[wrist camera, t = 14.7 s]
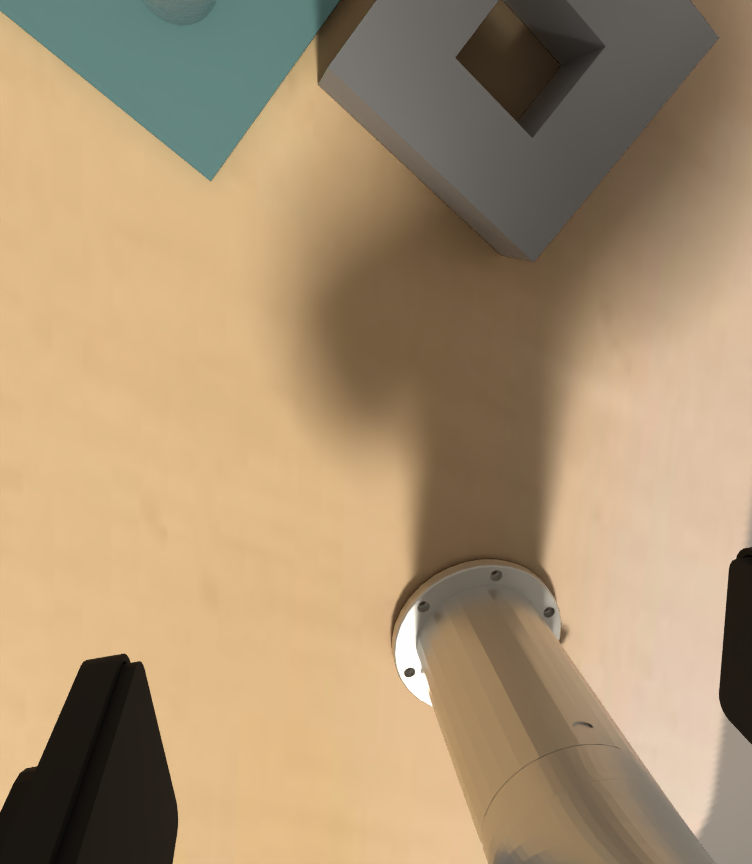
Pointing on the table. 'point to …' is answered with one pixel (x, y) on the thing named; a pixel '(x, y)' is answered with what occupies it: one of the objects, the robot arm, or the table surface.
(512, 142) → the block
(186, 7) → the peg
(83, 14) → the mat
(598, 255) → the table surface
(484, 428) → the table surface
